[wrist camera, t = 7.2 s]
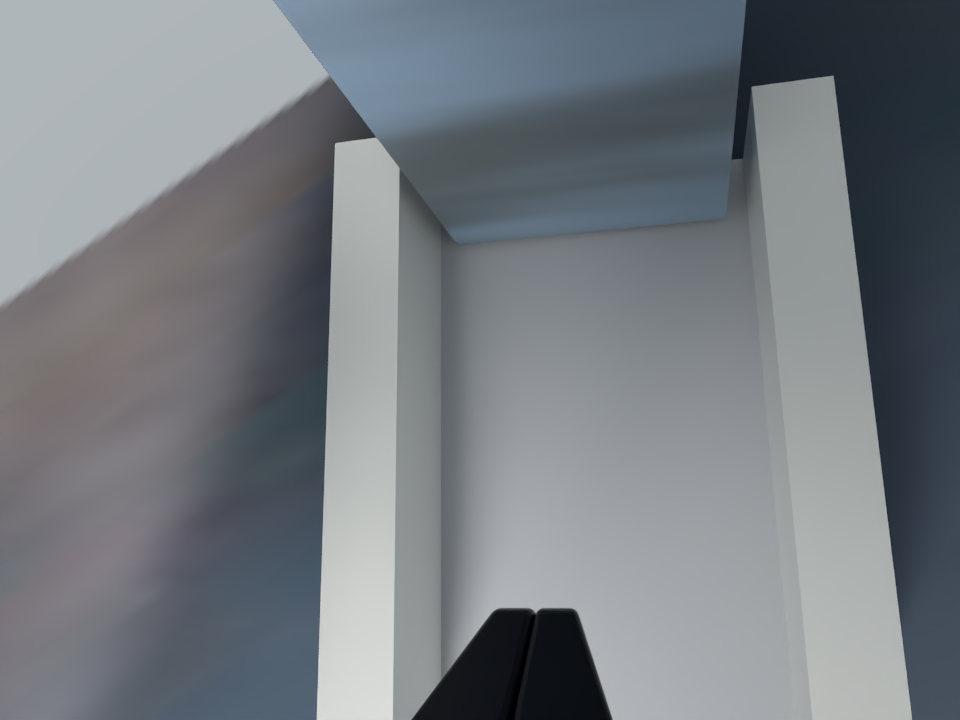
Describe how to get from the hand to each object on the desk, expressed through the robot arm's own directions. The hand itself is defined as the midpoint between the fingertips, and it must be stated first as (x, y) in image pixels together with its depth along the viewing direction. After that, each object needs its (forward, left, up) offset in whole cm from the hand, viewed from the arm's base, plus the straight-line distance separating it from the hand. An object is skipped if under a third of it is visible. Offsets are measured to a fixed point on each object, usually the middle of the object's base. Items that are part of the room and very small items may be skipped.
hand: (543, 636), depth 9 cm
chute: (+2, -3, -7) cm, 8 cm away
